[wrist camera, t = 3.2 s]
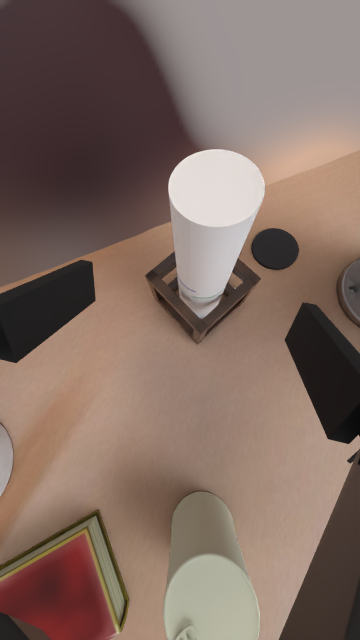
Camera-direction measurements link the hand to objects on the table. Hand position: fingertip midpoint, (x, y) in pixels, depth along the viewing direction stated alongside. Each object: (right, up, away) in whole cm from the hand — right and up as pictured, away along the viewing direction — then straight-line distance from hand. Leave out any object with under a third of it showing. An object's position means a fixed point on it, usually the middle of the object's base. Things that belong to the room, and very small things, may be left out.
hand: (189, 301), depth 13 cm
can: (+3, -32, +18) cm, 36 cm away
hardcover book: (-20, -40, +16) cm, 47 cm away
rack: (+3, +2, +26) cm, 27 cm away
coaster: (+18, +13, +29) cm, 36 cm away
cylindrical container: (+3, +2, +27) cm, 27 cm away
